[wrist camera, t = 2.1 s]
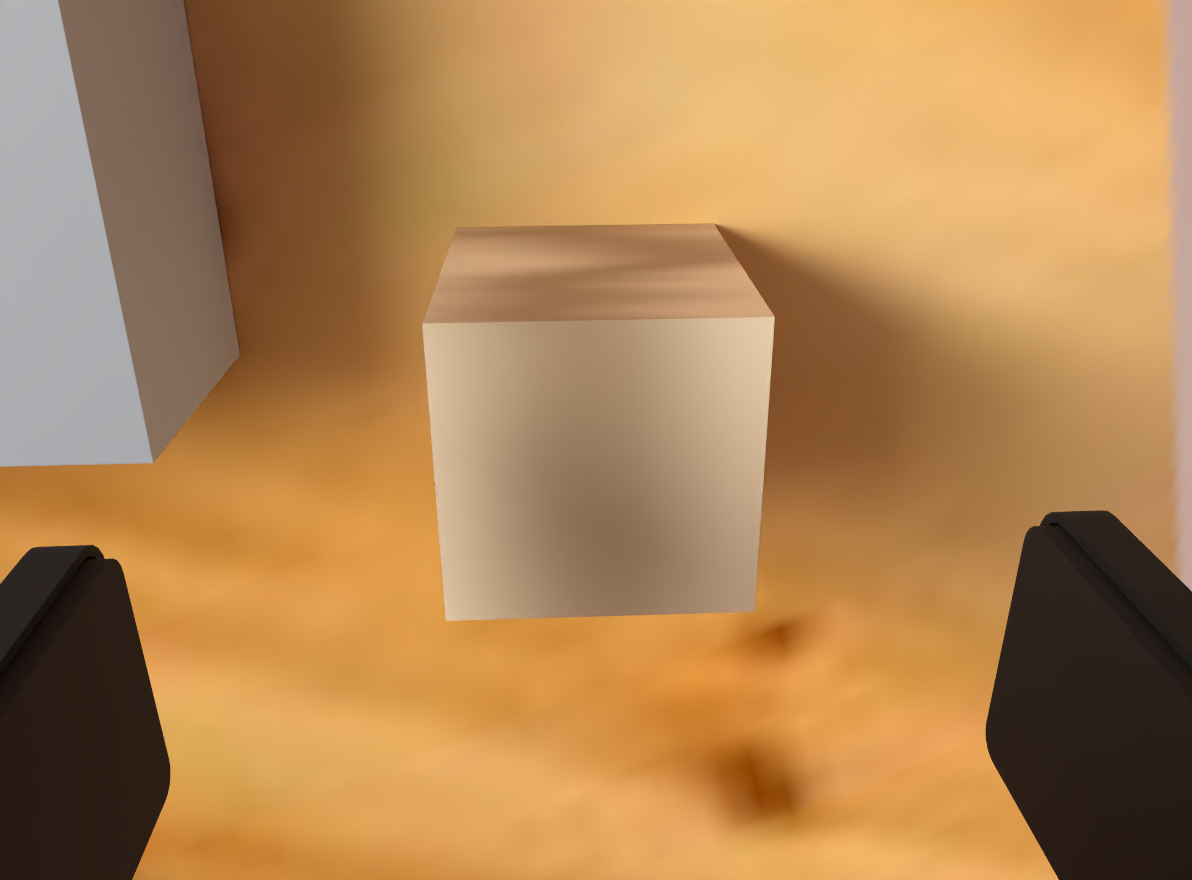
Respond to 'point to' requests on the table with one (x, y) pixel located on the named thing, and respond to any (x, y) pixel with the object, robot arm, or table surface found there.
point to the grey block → (104, 234)
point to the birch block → (597, 421)
